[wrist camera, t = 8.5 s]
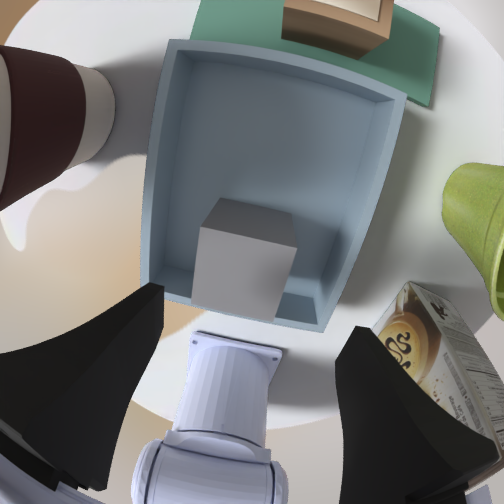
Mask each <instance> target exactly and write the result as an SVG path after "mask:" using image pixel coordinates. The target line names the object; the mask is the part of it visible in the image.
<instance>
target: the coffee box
mask: <svg viewBox="0 0 504 504" xmlns="http://www.w3.org/2000/svg"><path fill="white" fill-rule="evenodd" d="M372 331H373V332H374V334H375V335H376V336H377V337H378V338H379V339H380V341H381V342H382V343H383V344H384V345H385V347H386V348H387V349H388V350H389V351H390V353H391V354H392V355H393V356H394V358H395V359H396V360H397V361H398V362H399V364H400V365H401V366H402V367H403V368H404V370H405V371H406V372H407V373H408V374H409V375H410V376H411V378H412V379H413V380H414V381H415V382H416V383H417V384H418V385H419V386H420V387H421V388H422V389H423V390H424V392H425V393H427V394H428V395H429V396H430V397H431V398H432V399H433V400H434V401H435V402H436V403H437V404H438V405H439V406H441V407H442V408H443V409H444V410H445V411H447V412H448V413H449V414H450V415H452V416H453V417H454V418H456V419H457V420H459V421H460V422H461V423H463V424H464V425H466V426H467V427H469V428H471V429H472V430H474V431H476V432H477V433H479V434H481V435H483V436H485V437H487V438H489V439H491V440H493V441H494V442H495V445H496V447H497V450H498V453H499V456H500V457H499V460H498V461H497V462H496V463H495V464H493V465H492V466H491V467H489V468H488V469H487V470H485V471H484V472H482V473H481V474H479V475H478V476H476V477H474V478H473V479H471V480H470V481H468V484H469V488H468V489H467V490H465V491H464V492H466V491H468V490H470V489H472V488H473V487H475V486H477V485H478V484H480V483H482V482H483V481H485V480H486V479H488V478H489V477H491V476H493V475H494V474H495V473H497V472H498V471H500V470H501V469H502V468H504V384H503V382H502V380H501V378H500V377H499V375H498V374H497V371H496V370H495V368H494V367H493V365H492V363H491V362H490V360H489V358H488V356H487V355H486V353H485V352H484V350H483V349H482V347H481V345H480V344H479V342H478V341H477V339H476V338H475V337H474V335H473V334H472V332H471V331H470V329H469V328H468V326H467V325H466V323H465V322H464V321H463V319H462V318H461V316H460V315H459V314H458V312H457V311H456V309H455V308H454V307H453V305H452V304H451V303H450V302H449V301H447V300H445V299H444V298H442V297H440V296H438V295H436V294H434V293H432V292H430V291H428V290H426V289H424V288H422V287H420V286H418V285H416V284H414V283H412V282H407V283H406V284H405V285H404V287H403V288H402V290H401V291H400V293H399V294H398V295H397V297H396V298H395V300H394V301H393V302H392V304H391V305H390V307H389V308H388V309H387V311H386V312H385V313H384V315H383V316H382V317H381V319H380V320H379V321H378V323H377V324H376V325H375V327H374V328H373V329H372Z"/></svg>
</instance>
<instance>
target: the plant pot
mask: <svg viewBox="0 0 504 504" xmlns="http://www.w3.org/2000/svg"><path fill="white" fill-rule="evenodd" d="M442 218H443V222H444V224H445V227H446V229H447V230H448V231H449V233H450V234H451V235H452V236H453V238H454V239H455V240H456V241H457V242H458V244H459V245H460V246H461V247H462V249H463V250H464V251H465V252H466V254H467V255H468V257H469V258H470V259H471V261H472V262H473V263H474V265H475V266H476V268H477V269H478V271H479V272H480V274H481V275H482V277H483V278H484V282H485V285H486V288H487V290H488V292H489V296H490V302H491V306H492V308H493V311H494V312H495V314H496V315H497V316H498V318H500V319H501V320H503V321H504V166H497V165H489V164H482V163H467V164H464V165H462V166H460V167H459V168H457V169H456V170H455V171H454V172H453V173H452V175H451V176H450V177H449V179H448V181H447V183H446V185H445V188H444V191H443V210H442Z"/></svg>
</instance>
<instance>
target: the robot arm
mask: <svg viewBox="0 0 504 504" xmlns="http://www.w3.org/2000/svg"><path fill="white" fill-rule="evenodd" d="M164 288H165V286H162V285H158V284H155V283H151V282H149V283H147V284H145V285H144V286H142V287H141V288H139V289H138V290H136V291H135V292H133V293H132V294H131V295H129V296H128V297H126V298H125V299H123V300H122V301H120V302H119V303H117V304H116V305H114V306H113V307H111V308H109V309H108V310H107V311H105V312H103V313H101V314H100V315H98V316H96V317H95V318H93V319H91V320H90V321H88V322H86V323H84V324H82V325H81V326H79V327H77V328H75V329H73V330H71V331H68V332H66V333H64V334H62V335H60V336H57V337H55V338H52V339H49V340H47V341H44V342H41V343H39V344H36V345H33V346H30V347H26V348H23V349H19V350H15V351H11V352H6V353H1V354H0V504H105V503H102V502H100V501H98V500H96V499H93V498H91V497H89V496H87V495H85V494H83V493H81V492H79V491H77V489H78V486H79V487H81V488H83V489H85V490H88V488H91V489H93V490H95V491H102V490H105V489H107V482H108V478H109V473H110V468H111V463H112V459H113V455H114V450H115V447H116V443H117V439H118V436H119V432H120V429H121V426H122V423H123V420H124V417H125V414H126V411H127V408H128V405H129V402H130V400H131V398H132V395H133V393H134V391H135V389H136V387H137V385H138V383H139V381H140V379H141V377H142V375H143V373H144V371H145V369H146V367H147V365H148V363H149V361H150V359H151V357H152V355H153V353H154V351H155V349H156V347H157V344H158V341H159V338H160V336H161V333H162V330H163V327H164ZM194 340H196V341H194ZM274 357H276V358H274ZM281 358H282V351H281V350H280V349H276V348H270V347H265V346H259V345H254V344H249V343H244V342H239V341H235V340H230V339H226V338H221V337H217V336H212V335H208V334H204V333H200V332H192V333H191V335H190V343H189V354H188V367H187V380H186V384H185V387H184V390H183V394H182V397H181V400H180V403H179V407H178V410H177V414H176V417H175V420H174V424H173V427H172V430H167V431H166V435H165V438H164V441H163V440H161V439H158V438H156V439H154V440H152V441H151V442H149V443H147V444H146V445H145V446H144V448H143V449H142V451H141V453H140V456H139V458H138V461H137V464H136V467H135V470H134V474H133V479H132V486H131V498H132V500H133V504H287V502H288V479H287V475H286V472H285V470H284V469H283V468H282V467H281V465H280V464H279V462H277V461H271V450H270V449H265V437H266V420H267V401H268V386H269V384H270V382H271V380H272V378H273V375H274V373H275V371H276V369H277V367H278V364H279V362H280V360H281ZM335 379H336V389H337V396H338V403H339V409H340V416H341V422H342V429H343V440H344V441H343V442H344V443H343V444H344V447H343V448H344V450H343V456H344V457H343V476H342V485H341V493H340V500H339V504H492V500H491V496H490V492H489V487H488V485H485V486H483V487H481V488H479V489H477V490H476V491H474V492H471V493H470V494H468V495H466V496H465V492H464V491H465V490H467V489H468V488H469V484H468V481H470V480H471V479H473V478H474V477H476V476H478V475H479V474H481V473H482V472H484V471H485V470H487V469H488V468H489V467H491V466H492V465H493V464H495V463H496V462H497V461H498V460H499V457H500V456H499V453H498V450H497V447H496V445H495V442H494V441H493V440H491V439H489V438H487V437H485V436H483V435H481V434H479V433H477V432H476V431H474V430H472V429H471V428H469V427H467V426H466V425H464V424H463V423H461V422H460V421H459V420H457V419H456V418H454V417H453V416H452V415H450V414H449V413H448V412H447V411H445V410H444V409H443V408H442V407H441V406H439V405H438V404H437V403H436V402H435V401H434V400H433V399H432V398H431V397H430V396H429V395H428V394H427V393H425V392H424V390H423V389H422V388H421V387H420V386H419V385H418V384H417V383H416V382H415V381H414V380H413V379H412V378H411V376H410V375H409V374H408V373H407V372H406V371H405V370H404V368H403V367H402V366H401V365H400V364H399V362H398V361H397V360H396V359H395V358H394V356H393V355H392V354H391V353H390V351H389V350H388V349H387V348H386V347H385V345H384V344H383V343H382V342H381V341H380V339H379V338H378V337H377V336H376V335H375V334H374V332H373V331H372V330H371V329H370V328H367V327H360V326H355V328H354V330H353V331H352V333H351V335H350V337H349V338H348V340H347V342H346V344H345V345H344V347H343V349H342V351H341V352H340V354H339V356H338V357H337V359H336V360H335Z"/></svg>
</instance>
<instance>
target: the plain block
mask: <svg viewBox="0 0 504 504" xmlns="http://www.w3.org/2000/svg"><path fill="white" fill-rule="evenodd" d="M296 251H297V243H296V237H295V231H294V226H293V220H292V214H291V213H287V212H283V211H279V210H275V209H270V208H266V207H262V206H257V205H253V204H248V203H244V202H239V201H235V200H230V199H225V198H219V200H218V201H217V203H216V204H215V206H214V207H213V209H212V210H211V212H210V213H209V214H208V216H207V217H206V219H205V220H204V222H203V223H202V225H201V226H200V233H199V240H198V247H197V255H196V263H195V271H194V279H193V288H192V297H191V304H194V305H198V306H202V307H206V308H210V309H214V310H219V311H223V312H227V313H232V314H236V315H241V316H246V317H251V318H255V319H260V320H265V321H270V322H273V321H274V318H275V315H276V312H277V309H278V306H279V303H280V300H281V297H282V294H283V291H284V288H285V285H286V282H287V279H288V276H289V273H290V270H291V267H292V264H293V260H294V257H295V254H296Z"/></svg>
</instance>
